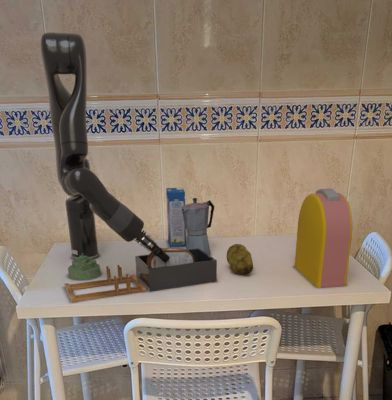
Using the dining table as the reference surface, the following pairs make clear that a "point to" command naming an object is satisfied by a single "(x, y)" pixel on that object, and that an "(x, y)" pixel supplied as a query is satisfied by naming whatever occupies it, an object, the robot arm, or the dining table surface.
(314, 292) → the dining table surface
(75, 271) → the decorative artifact
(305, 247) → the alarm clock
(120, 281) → the dish rack
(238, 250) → the olive green oval lump
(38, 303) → the dining table surface
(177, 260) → the tin
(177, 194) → the milk carton
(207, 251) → the moka pot
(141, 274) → the dark grey open box
